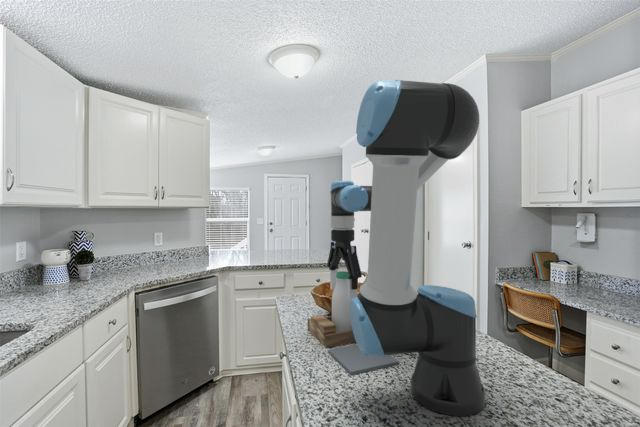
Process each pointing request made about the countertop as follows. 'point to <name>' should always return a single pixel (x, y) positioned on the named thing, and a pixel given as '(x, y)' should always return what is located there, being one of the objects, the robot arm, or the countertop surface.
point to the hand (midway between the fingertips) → (343, 293)
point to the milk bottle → (341, 303)
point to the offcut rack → (329, 332)
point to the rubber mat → (360, 360)
